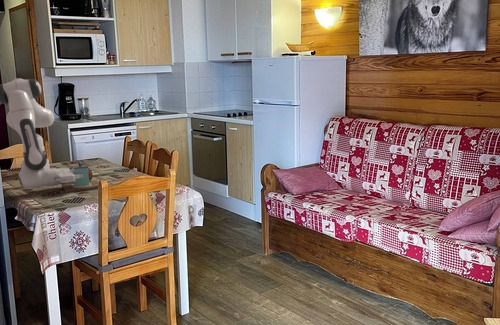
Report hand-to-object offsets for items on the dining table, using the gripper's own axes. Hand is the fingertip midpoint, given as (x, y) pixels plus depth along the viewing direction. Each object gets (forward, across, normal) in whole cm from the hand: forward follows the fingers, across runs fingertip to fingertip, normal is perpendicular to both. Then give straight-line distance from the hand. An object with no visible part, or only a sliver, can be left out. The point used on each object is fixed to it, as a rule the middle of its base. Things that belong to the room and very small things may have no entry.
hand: (81, 173), depth 264 cm
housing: (0, 0, +6) cm, 6 cm away
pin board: (0, 0, +8) cm, 8 cm away
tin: (+2, +16, +8) cm, 18 cm away
